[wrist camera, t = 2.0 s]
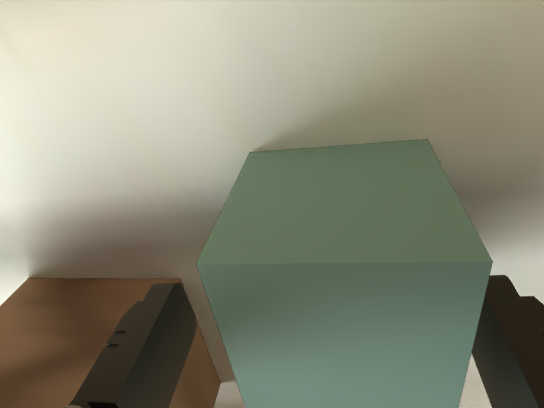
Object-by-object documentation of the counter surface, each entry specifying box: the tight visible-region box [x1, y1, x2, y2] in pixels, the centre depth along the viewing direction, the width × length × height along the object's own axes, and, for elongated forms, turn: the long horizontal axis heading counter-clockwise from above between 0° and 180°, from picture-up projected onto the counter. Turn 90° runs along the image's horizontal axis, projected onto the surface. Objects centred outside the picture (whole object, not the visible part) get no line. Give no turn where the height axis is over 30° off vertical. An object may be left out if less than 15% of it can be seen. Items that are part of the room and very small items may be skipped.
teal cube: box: [196, 139, 493, 408], centre depth 10 cm, size 6×6×6 cm
